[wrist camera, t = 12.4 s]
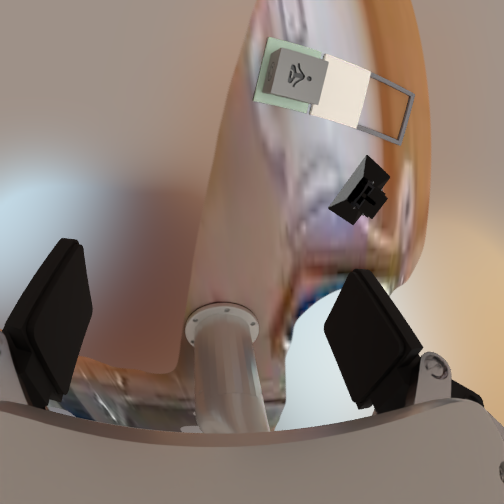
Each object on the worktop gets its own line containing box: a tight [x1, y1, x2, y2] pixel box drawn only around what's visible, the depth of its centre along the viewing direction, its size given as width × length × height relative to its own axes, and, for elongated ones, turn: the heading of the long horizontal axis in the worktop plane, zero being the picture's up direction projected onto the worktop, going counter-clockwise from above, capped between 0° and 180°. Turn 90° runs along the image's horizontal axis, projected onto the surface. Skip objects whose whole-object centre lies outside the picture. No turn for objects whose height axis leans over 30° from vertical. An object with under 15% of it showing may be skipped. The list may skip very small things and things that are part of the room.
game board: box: [253, 37, 415, 146], centre depth 29 cm, size 8×21×1 cm, turn 78°
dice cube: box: [262, 48, 329, 105], centre depth 26 cm, size 5×5×5 cm
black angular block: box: [328, 155, 390, 225], centre depth 36 cm, size 12×7×5 cm, turn 147°
